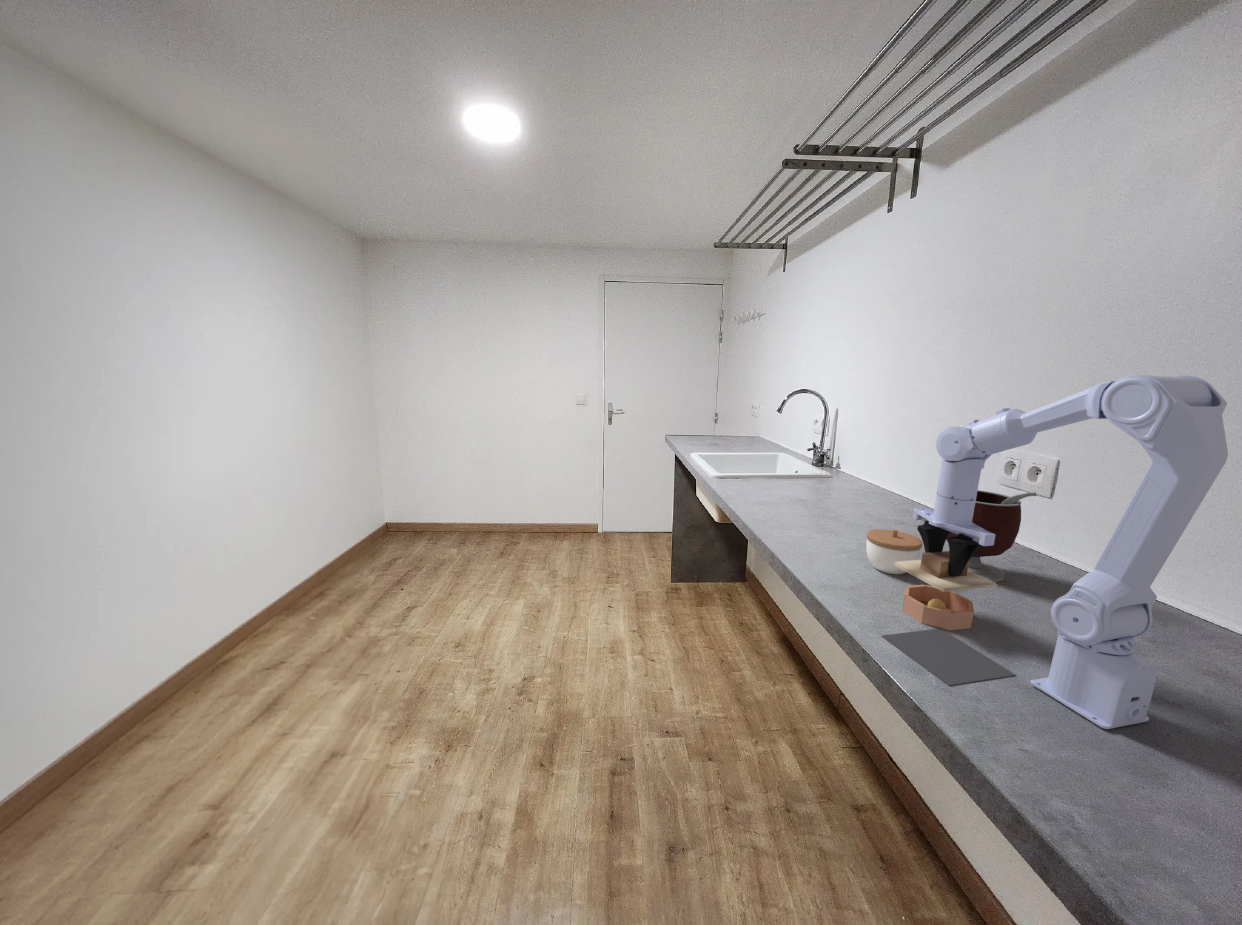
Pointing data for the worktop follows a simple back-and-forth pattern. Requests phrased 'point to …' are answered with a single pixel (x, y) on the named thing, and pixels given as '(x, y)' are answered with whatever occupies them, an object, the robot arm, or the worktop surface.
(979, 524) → the mate gourd
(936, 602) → the ball
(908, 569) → the cover
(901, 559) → the lidded jar
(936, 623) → the bowl
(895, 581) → the worktop surface
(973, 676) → the mat
